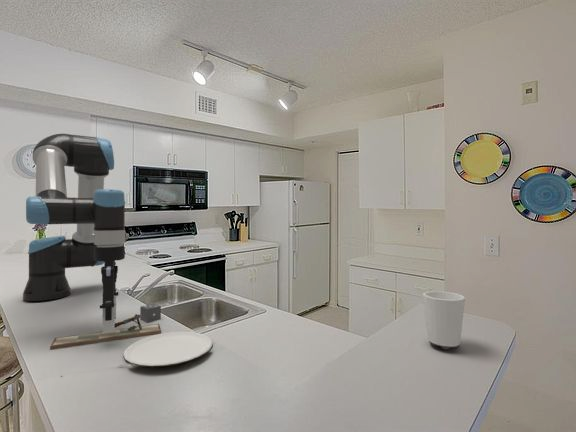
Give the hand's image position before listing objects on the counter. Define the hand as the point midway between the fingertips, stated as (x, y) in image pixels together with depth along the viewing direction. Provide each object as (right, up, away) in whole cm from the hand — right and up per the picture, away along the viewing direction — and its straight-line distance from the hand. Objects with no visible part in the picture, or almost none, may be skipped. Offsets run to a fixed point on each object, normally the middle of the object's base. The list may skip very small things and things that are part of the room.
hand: (109, 325), depth 91 cm
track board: (0, -3, 0) cm, 3 cm away
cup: (+89, -3, -5) cm, 90 cm away
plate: (+20, -4, -8) cm, 22 cm away
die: (+5, -3, +15) cm, 16 cm away
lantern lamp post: (0, -1, 0) cm, 2 cm away
